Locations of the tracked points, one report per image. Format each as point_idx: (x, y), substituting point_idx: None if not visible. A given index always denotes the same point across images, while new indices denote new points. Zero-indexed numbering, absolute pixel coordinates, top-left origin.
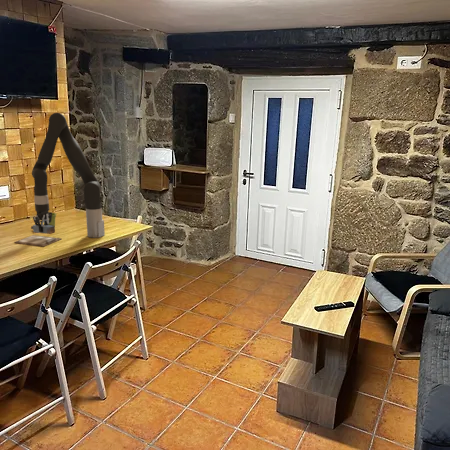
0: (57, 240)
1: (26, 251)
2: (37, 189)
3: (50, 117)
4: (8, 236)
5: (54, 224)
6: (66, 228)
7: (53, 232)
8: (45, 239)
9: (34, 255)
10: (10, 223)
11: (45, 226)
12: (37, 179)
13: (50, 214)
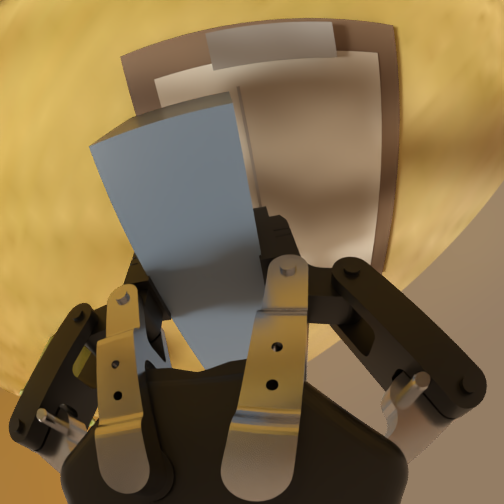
0: (187, 35)
1: (482, 88)
2: None
3: None
4: None
5: (46, 347)
6: (5, 283)
7: (160, 108)
8: (250, 141)
9: (497, 11)
10: None
11: (226, 232)
12: None
13: (39, 421)
